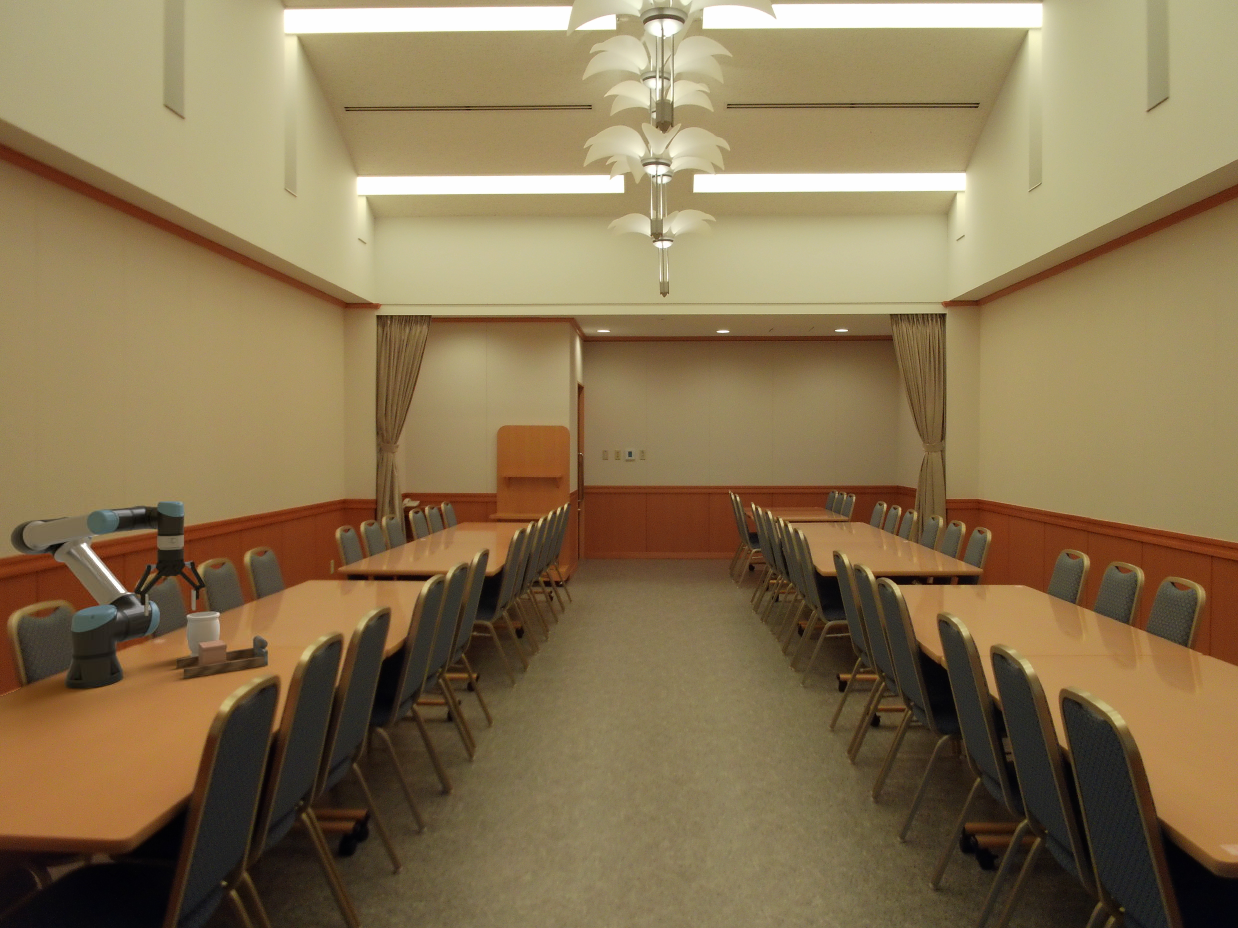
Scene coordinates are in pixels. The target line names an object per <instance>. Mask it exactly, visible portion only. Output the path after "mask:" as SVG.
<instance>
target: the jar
mask: <svg viewBox="0 0 1238 928" xmlns="http://www.w3.org/2000/svg"><path fill="white" fill-rule="evenodd" d="M220 616H221V613H220V612H219V611H200V612H198V611H197V612H193V613H190V614H187V615H186V620H187V624H186V631H185V632H186V640H187V645H188V648H189V650H190V652H191V653H190V655H189V657H193V656H199V648H198V643H202V642H209V641H216V640H220V639H219V638H220V633H221V629H220V628H221V625H220V620H219V617H220Z"/></svg>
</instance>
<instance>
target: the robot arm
mask: <svg viewBox="0 0 1238 928" xmlns="http://www.w3.org/2000/svg"><path fill="white" fill-rule="evenodd" d="M139 530H157V539H156V540H157V541H156V543H157V544H156V546H157V548H158V549H157V551H156V552H157V553H156V555H157V556H156V559H157V561H156V564H150V563H146V565H145V569H144V572H143V574H142V575H141V577H140V579H139V581H138V582H137V585H136V586H135V588H134V589H133V592H129V591H128V590H127V589H126V587H124V585H123V584H122V583H121V582H120V580H119V579H118V578H117V577H116V576H115V575H114V573H112V571H111V569H109V568H108V566H107V565H106V564H105V563H104V562H103V561H102V559H101V558H100V557H99V556H98V555H97V554H96V552H95V551H94V550H93V548H91V545H92V539H93V537H96V536H102V535H108V534H114V533H121V532H129V531H139ZM184 532H185V506H184V503H183V502H182V501H179V500H166V501H165V500H164V501H159V502H158V503H157V506H146V505H134V506H131V507H123V508H105V509H98V510H94V511H92V512H90V513H85V514H80V515H76V516H75V515H74V516H71V517H69V516H65V517H58V518H51V519H47V518H46V519H35V520H29V521H24V522H22V523H20V524H18V525H17V526H16V527H14V529H13V530H12V531H11V534H10V543H11V546H12V547H13V548H14V549H15V550H16V551H18V552H20V553H22V554H25V555H31V556H33V555H44V554H50V555H51V556H52V557H53V559H54V560H55V561H56V562H59V563H64V564H65V565H66V566H67V567H68V569H69V570H70V571H71V572H72V573H73V575H74V576H75V577H76V578H77V579H78V581H80V583H81V584H82V585H83V586H84V588H85V589H86V591H88V592H89V594H90V595H91V597H93V599H94V600H96V602H97V603H98V604H99V605H95V606H93V605H92V606H90V607H86V608H83V609H81V610H80V609H79V611H76V613H74V614H73V616H72V619H71V625H70V630H71V662H70V665H69V667H68V670H67V673H66V674H65V679H64V686H65V688H67V689H76V690H77V689H78V690H79V689H91V688H98V687H105V686H107V685H108V686H109V685H111V684H114V683H118V682H120V681H122V680H123V678H124V670H123V668H122V664H120V663H121V662H120V661H119V658H118V655H117V644H120V643H123V642H126V641H131V640H134V639H135V640H136V639H139V638H140V639H141V638H143V637H145V636H148V635H151V634H152V633H154V632H155V630H156V629H157V628H158V626H159V624H160V620H161V619H160V616H161V614H160V609H159V607H158V605H157V604H156V603H155V602H154V601H153V600H149V595H148V592H149V591H150V590H152V589H153V587H155V585H156V584H157V583H158V582H159V581H160V580H161V579H162V577H165V578H168V577H177V576H180V577H182V579H184V580H185V581H186V582H187V583H188V584H189V585H190V586H191V587H192V588H193V589H191V599H190V601H191V610H192V611H196V610H197V609H196V608H197V602H196V601H197V600H199V599H200V590H201V589H204V588H206V584H205V582H204V580H203V579H202V577H201V575H200V573H199V572H198V569H196V563H195V561H193V560H189V561H185V560H184V559H185V550H184V548H183V547H185V545H184V544H185V538H184V537H185V536H184V535H185V533H184ZM185 567H187V568H188V569H190V571H191V572H192V574H193V577H194V578H195V580H196V581H197V583H198V585H197V584H196V582H194V580H193V579H191V578H190V577H189V576H188V575H187V574H186V573H185V572H184V571H183V570H184V569H185ZM154 569H156V570H157V572H156V573H155V575H154V576H153V577H152V579H151V580H150V581H149V582H148V583H147V584H146V585H145V586H144V584H145V583H146V581H147V579H148V578H149V576H150V574H151V572H153V571H154Z"/></svg>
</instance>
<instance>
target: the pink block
mask: <svg viewBox="0 0 1238 928" xmlns="http://www.w3.org/2000/svg"><path fill="white" fill-rule="evenodd" d="M198 648H199V665H198V666H204V665H210V664H216V663H223V662H227V661H226V652H227V648H228V646H227V644H226V643H225V642H224V641H223V640H222V639H218V640H216V641H209V642H202V643H198Z"/></svg>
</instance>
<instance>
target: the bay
mask: <svg viewBox="0 0 1238 928" xmlns="http://www.w3.org/2000/svg"><path fill="white" fill-rule="evenodd" d="M268 645H269V643H268V641H267V640H266V639H265V638H263V637H262V636H261V635H255V636H254V637H253V638H252V647H249V648H243V649H234V650H229V651H227V650H226V662H223V663H216V664H210V665H204V666H199V656H193V657H190V656H188V657H181V658H176V669H183V679H190V678H192V679H193V678H196V677H197V678H198V677H203V676H204V677H205V676H209V675H214V674H221V673H226V672H227V673H229V672H233V671H240V670H246V669H251V668H252V669H253V668H259V667H264V666H269V665H268V664H269V660H268V659H269V656H268V655H269V653H268V652H269V651H268V649H266V648H267V647H268Z"/></svg>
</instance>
